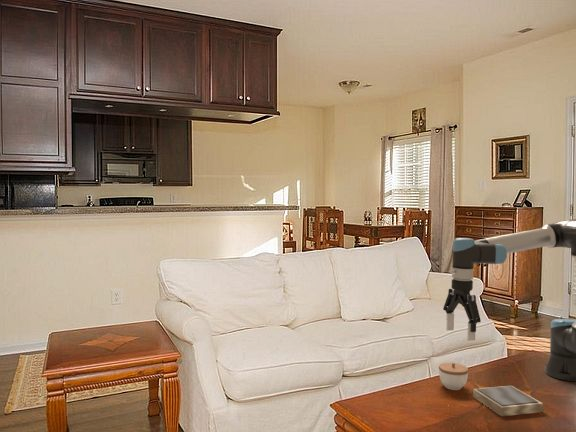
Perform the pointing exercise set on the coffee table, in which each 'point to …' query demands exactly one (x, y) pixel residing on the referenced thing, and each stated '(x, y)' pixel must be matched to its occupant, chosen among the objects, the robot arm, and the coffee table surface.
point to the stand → (507, 400)
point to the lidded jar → (453, 375)
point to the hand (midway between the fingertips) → (460, 335)
